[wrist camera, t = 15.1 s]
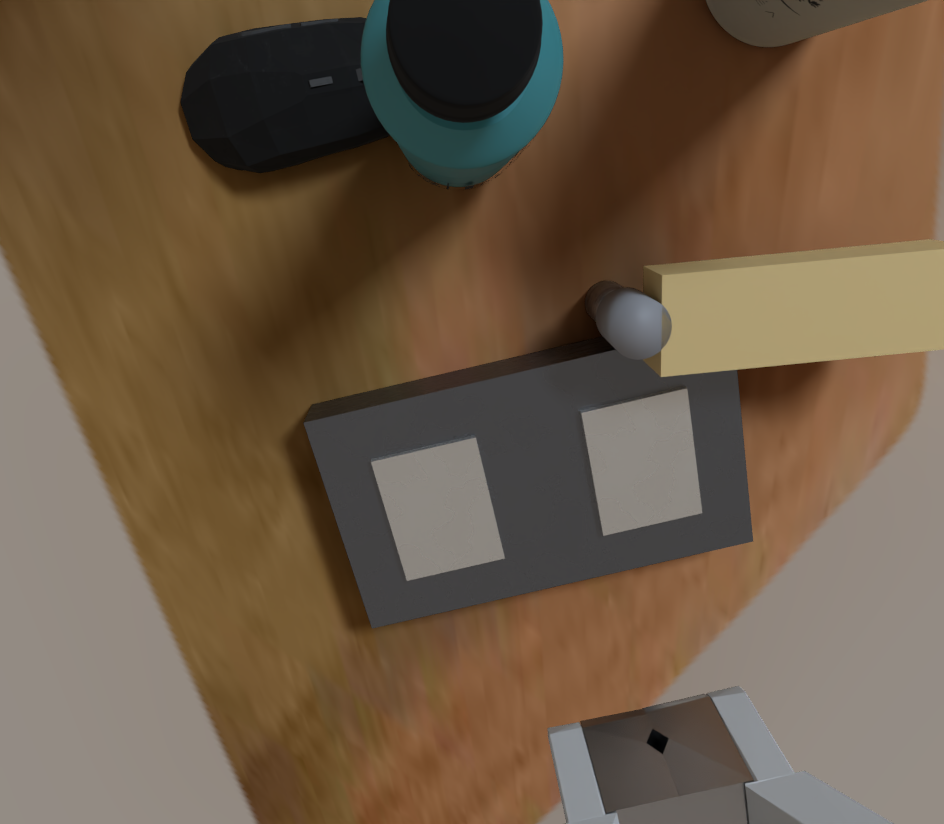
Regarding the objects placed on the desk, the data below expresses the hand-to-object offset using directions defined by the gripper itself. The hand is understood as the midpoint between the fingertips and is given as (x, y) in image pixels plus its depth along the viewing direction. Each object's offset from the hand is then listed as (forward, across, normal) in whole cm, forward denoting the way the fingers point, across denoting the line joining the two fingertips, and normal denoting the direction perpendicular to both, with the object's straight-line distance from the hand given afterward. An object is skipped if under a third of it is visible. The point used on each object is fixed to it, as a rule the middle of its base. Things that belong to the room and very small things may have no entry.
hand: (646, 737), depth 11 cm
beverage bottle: (+31, -1, -10) cm, 33 cm away
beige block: (+27, -14, +2) cm, 31 cm away
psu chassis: (+31, -1, +8) cm, 32 cm away
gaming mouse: (+32, +5, -13) cm, 35 cm away
